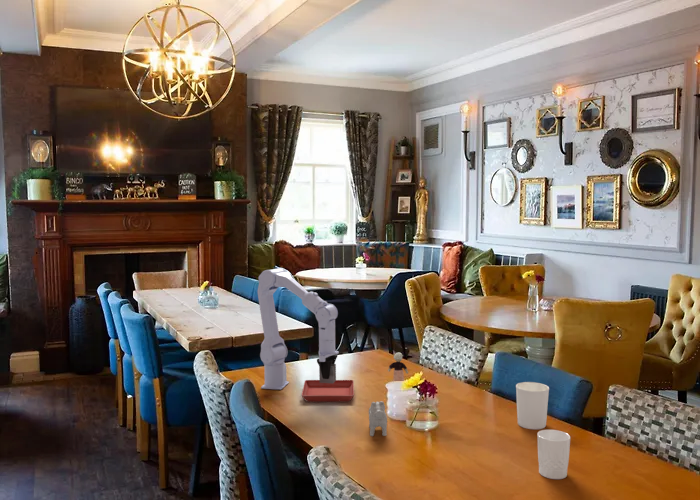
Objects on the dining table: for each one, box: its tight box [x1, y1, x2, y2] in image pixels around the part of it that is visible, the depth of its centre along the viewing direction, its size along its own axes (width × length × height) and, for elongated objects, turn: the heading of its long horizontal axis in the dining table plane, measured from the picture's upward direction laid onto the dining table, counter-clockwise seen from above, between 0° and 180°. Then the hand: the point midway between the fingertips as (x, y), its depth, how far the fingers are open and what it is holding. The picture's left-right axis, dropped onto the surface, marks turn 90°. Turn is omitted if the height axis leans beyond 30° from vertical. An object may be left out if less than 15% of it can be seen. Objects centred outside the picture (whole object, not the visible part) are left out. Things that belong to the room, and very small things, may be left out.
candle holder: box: [515, 381, 550, 430], centre depth 193 cm, size 10×10×12 cm
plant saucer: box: [301, 379, 355, 403], centre depth 223 cm, size 18×18×3 cm
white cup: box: [536, 429, 571, 480], centre depth 158 cm, size 8×8×10 cm
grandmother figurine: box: [387, 352, 409, 382], centre depth 234 cm, size 8×4×13 cm, turn 84°
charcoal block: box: [318, 363, 337, 384], centre depth 223 cm, size 4×5×6 cm
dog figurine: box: [368, 400, 388, 437], centre depth 187 cm, size 5×13×11 cm, turn 2°
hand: (327, 376), depth 223 cm, fingers closed on charcoal block, 4 cm apart
